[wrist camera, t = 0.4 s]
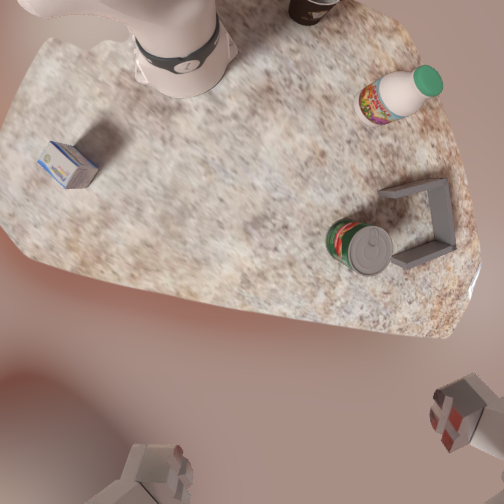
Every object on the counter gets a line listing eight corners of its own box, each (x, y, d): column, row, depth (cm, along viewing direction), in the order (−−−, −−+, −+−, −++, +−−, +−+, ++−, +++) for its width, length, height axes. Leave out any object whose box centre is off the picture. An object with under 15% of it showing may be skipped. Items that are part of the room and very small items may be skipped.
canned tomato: (360, 262, 56) (388, 278, 45) (322, 259, 55) (344, 275, 44) (366, 221, 54) (396, 228, 44) (328, 216, 53) (352, 223, 43)
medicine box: (100, 169, 48) (79, 166, 40) (86, 189, 48) (64, 189, 40) (72, 145, 46) (49, 139, 38) (59, 165, 47) (35, 162, 38)
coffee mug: (281, 25, 45) (292, -2, 36) (284, -5, 44) (294, -33, 34) (339, 37, 47) (359, 15, 37) (339, 7, 45) (356, -17, 35)
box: (378, 190, 53) (394, 191, 47) (429, 178, 54) (447, 178, 48) (391, 262, 56) (407, 269, 51) (439, 244, 57) (456, 249, 51)
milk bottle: (369, 83, 49) (427, 47, 29) (394, 114, 51) (459, 90, 31) (344, 103, 50) (399, 67, 30) (370, 135, 51) (434, 115, 32)
